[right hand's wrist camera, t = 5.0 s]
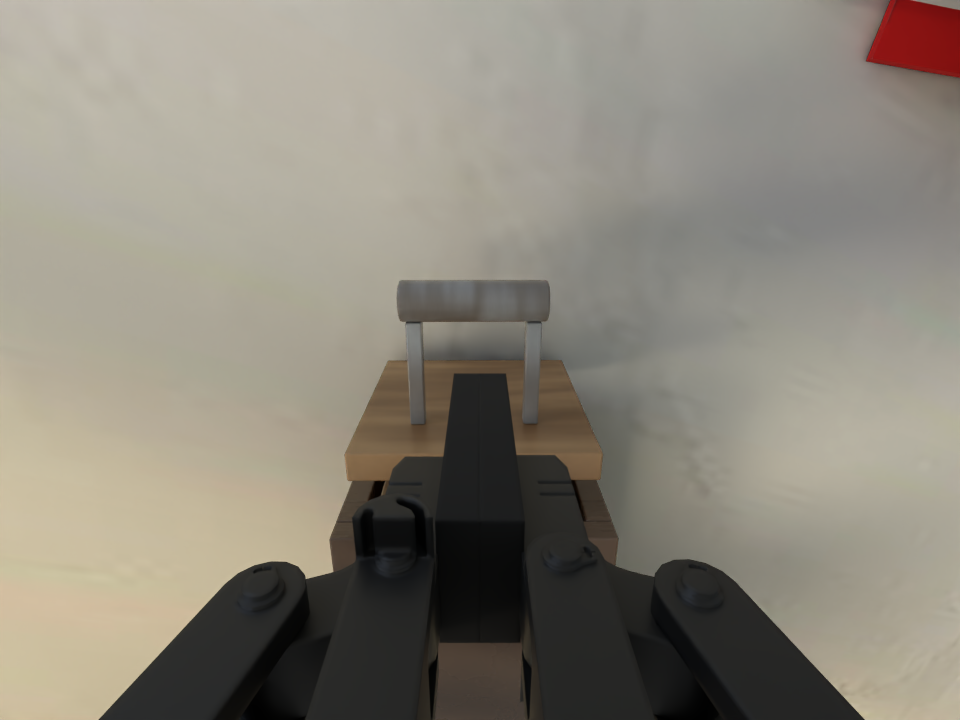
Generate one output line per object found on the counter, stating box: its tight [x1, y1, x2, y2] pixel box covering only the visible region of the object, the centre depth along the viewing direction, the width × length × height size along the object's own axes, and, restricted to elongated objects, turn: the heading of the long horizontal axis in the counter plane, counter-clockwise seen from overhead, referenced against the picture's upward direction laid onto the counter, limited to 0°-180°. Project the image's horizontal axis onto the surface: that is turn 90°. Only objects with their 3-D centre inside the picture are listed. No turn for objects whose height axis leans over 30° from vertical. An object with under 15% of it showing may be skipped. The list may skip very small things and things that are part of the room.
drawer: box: [345, 280, 603, 496], centre depth 25 cm, size 21×10×10 cm, turn 0°
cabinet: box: [330, 480, 618, 720], centre depth 27 cm, size 16×11×12 cm
